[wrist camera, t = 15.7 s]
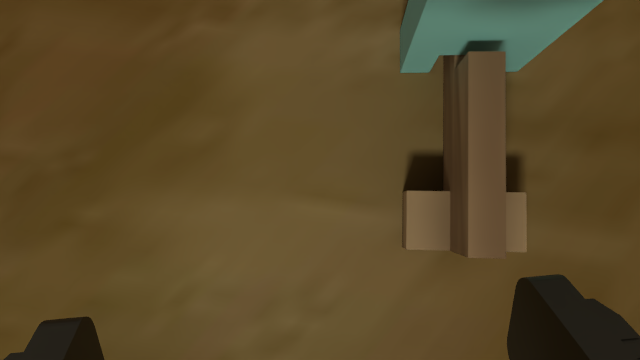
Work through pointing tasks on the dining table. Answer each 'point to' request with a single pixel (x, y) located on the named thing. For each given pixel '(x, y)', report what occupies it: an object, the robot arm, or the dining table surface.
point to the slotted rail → (470, 169)
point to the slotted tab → (484, 29)
